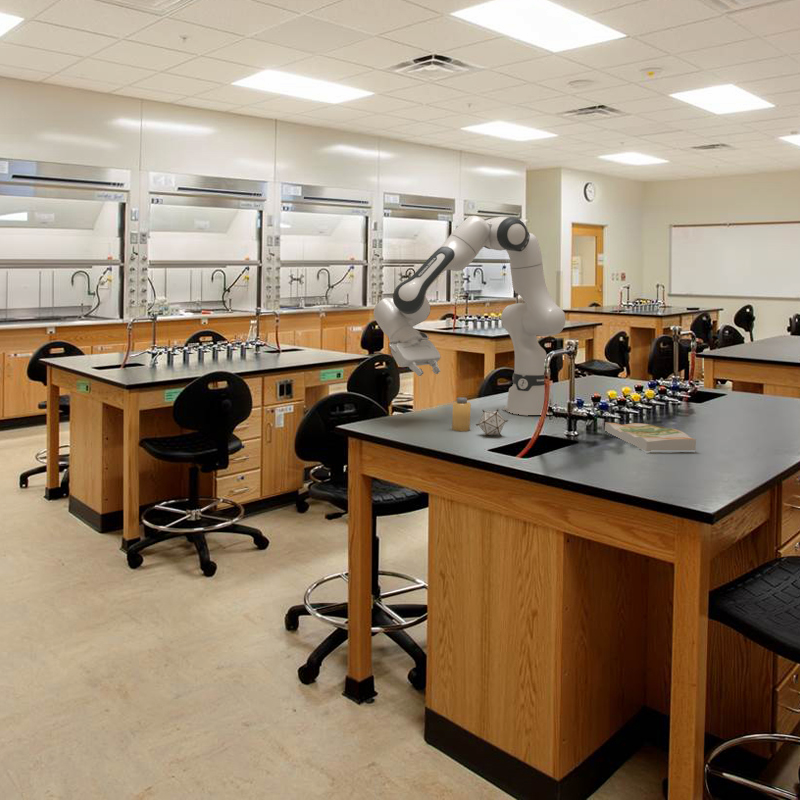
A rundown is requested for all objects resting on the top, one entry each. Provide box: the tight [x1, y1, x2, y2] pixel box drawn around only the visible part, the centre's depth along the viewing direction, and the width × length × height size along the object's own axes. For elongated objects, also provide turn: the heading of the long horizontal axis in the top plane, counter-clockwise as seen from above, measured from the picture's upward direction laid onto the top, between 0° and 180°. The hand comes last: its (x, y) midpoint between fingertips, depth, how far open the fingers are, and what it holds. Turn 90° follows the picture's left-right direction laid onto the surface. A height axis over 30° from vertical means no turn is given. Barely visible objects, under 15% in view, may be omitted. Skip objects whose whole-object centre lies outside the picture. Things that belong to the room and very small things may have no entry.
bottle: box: [451, 397, 472, 432], centre depth 247 cm, size 6×6×10 cm
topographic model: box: [604, 422, 697, 451], centre depth 235 cm, size 30×14×5 cm, turn 8°
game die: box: [475, 408, 509, 438], centre depth 238 cm, size 9×8×10 cm
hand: (429, 373), depth 252 cm, fingers open, 8 cm apart
